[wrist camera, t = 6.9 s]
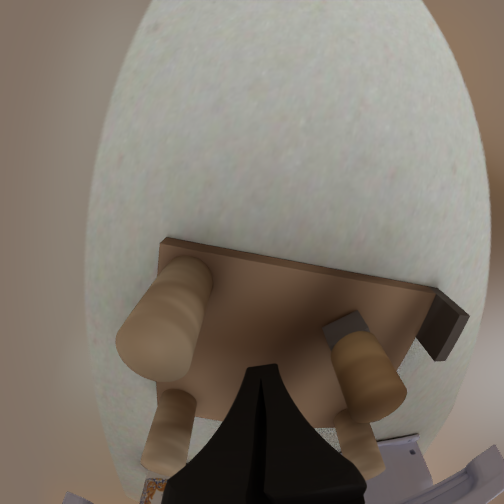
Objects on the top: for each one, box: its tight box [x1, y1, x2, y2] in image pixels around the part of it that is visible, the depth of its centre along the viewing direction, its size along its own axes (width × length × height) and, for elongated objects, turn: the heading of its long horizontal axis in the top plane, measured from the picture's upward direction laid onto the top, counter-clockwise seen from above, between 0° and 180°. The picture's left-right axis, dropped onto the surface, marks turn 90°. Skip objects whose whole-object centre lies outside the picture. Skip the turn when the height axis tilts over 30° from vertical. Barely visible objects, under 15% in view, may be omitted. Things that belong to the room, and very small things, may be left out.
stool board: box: [116, 237, 470, 481], centre depth 12 cm, size 16×12×6 cm
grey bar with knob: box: [322, 310, 407, 423], centre depth 11 cm, size 8×2×5 cm, turn 28°
